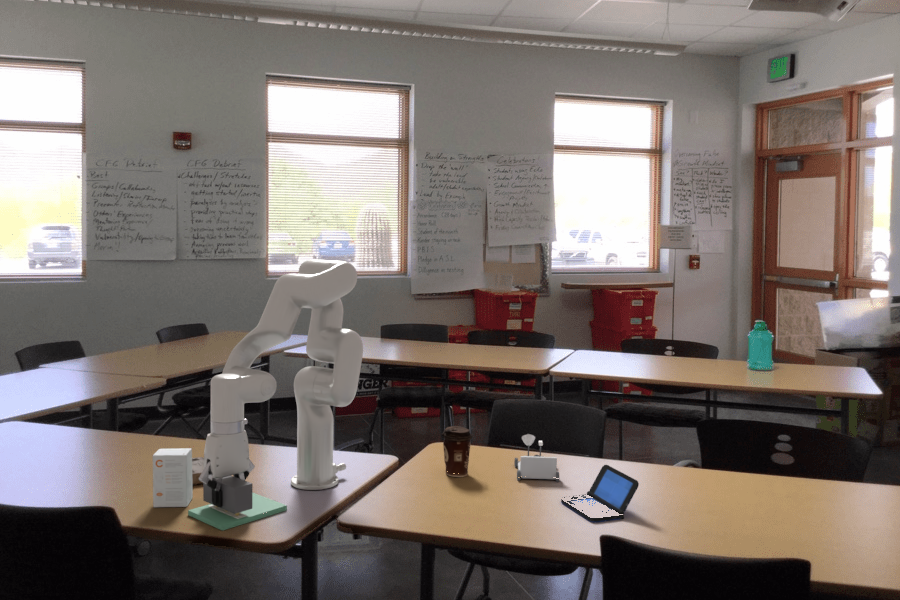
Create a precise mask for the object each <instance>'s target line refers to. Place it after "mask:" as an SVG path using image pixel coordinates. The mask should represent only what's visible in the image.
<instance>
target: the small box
mask: <svg viewBox="0 0 900 600" xmlns="http://www.w3.org/2000/svg"><path fill="white" fill-rule="evenodd" d="M192 449H193V448H190V447H189V448H188V447H186V448H181V447H180V448H159V449H157V451H155V452H154V453H153V455H152V503H153V505H152V506H153V508H182V507H183V508H186V507H188V505H190V503H191V501H192V499H193V495H194V494H193V486H194V485H193V483H192V458H193V450H192Z"/></svg>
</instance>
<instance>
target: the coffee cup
mask: <svg viewBox="0 0 900 600" xmlns="http://www.w3.org/2000/svg"><path fill="white" fill-rule="evenodd" d="M441 435H442V437H443V439H444V440H443V443H442V445H443V447H442V448H443V456H444V464H445V475H447V476H449V477H454V478H464V477H467V476H468V474H469V471H468V470H469V461H470V451H471V439H473V435H472V433H471V432H470V429H469V428H466V427H464V426H459V425H458V426H453V425H452V426H451V425H450V426H447V427H446V428H445V429H444V430H443V432H442V433H441ZM447 471H448V472H447ZM453 473H455V474H453ZM458 473H459V474H458Z"/></svg>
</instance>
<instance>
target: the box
mask: <svg viewBox="0 0 900 600" xmlns="http://www.w3.org/2000/svg"><path fill="white" fill-rule="evenodd" d="M203 461H204V456H200V457H192V483H193V485H192V486H194V485H195V486H197V485H199V484H202V485H203V482H201V481H200V480H199V477H200V475H201V473H202V472H203Z"/></svg>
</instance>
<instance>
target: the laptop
mask: <svg viewBox="0 0 900 600" xmlns="http://www.w3.org/2000/svg"><path fill="white" fill-rule="evenodd" d="M639 484H640V483H639V481H638V480H637V479H635V478H633V477H631V476H630V475H628V474H626V473H623V472H621V471H620V470H618V469H616V468H614V467H612V466H610V465H608V464H604V465H602V467H601V468H600V470H599V472H598V474H597V476H596V478H595V480H594V481H593V483H592V484H591V487H590V489H589V490H588V491H587V492H586V493H585V494H578V495H579V496H580V495H582V496H581V497H583V498H586V496H584V495H586V494H587V495H589V496H591V497H593V498H586V499H585V500H587V502H588V501H590V500H591V499H592V500H593V501H594V500H595V501H597V502H599V503H601V504H603V505H606V506H607V507H608V508H609V509H611V510H612V509H613V510H615V511H616V512H618V513H619V514H624V515H619V516H611V517H603V518H590V517H588V516H587V515H585V514H584V513H582V512H580V511H579V510H577V509H576V508H574V507H572V506H571V505H569V504H568V503H566V502H564V501H563V500H562V499H561V498H560V503H562V505H564V506H565V507H567V508H569V509H570V510H572V511H573V512H575V513H576V514H578V515H579V516H580V517H583V518H584V520H587V521H588V522H590V523H601V522H610V521H617V520H624V518H625V512H626V510H627V508H628V506H629V505H630V503H631V501H632V499H633V498H634V495H635V493H637V490H638V488H639ZM572 496H573V497H572V498H571V499H573V498H574V499H577V498H578V497H574V496H575V495H572ZM563 497H564V498H565V497H566V496H563ZM578 500H581V501H583V500H584V499H578ZM571 501H577V500H571ZM571 501H567V502H569V503H570V504H574V503H572V502H571ZM581 501H580V502H581ZM593 501H592V502H593ZM578 502H579V501H578ZM582 503H583V502H582ZM589 503H590V502H589ZM595 503H596V502H595ZM595 503H594V504H595ZM592 504H593V503H592ZM574 505H575V504H574ZM589 505H590V504H589ZM592 506H593V505H592ZM582 511H583V510H582ZM608 511H609V510H608ZM602 512H603V511H602ZM606 513H607V512H606Z"/></svg>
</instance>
